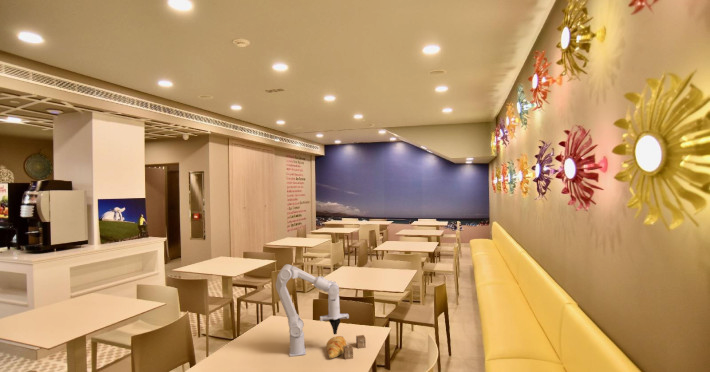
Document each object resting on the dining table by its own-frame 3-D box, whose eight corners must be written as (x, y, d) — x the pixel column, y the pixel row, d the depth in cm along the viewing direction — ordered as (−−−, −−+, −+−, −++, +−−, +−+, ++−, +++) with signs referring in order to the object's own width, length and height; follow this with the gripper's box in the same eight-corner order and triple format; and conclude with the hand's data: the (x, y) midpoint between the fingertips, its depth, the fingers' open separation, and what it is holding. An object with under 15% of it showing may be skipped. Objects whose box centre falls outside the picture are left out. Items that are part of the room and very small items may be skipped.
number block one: (343, 355, 180) (343, 345, 180) (351, 354, 181) (351, 344, 181) (345, 359, 176) (344, 349, 176) (353, 358, 177) (352, 348, 177)
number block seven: (356, 345, 191) (356, 335, 191) (363, 344, 192) (363, 334, 192) (358, 348, 187) (357, 338, 187) (365, 347, 188) (365, 338, 188)
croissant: (336, 368, 175) (344, 353, 174) (318, 357, 177) (325, 343, 176) (346, 347, 196) (352, 334, 195) (330, 338, 198) (336, 325, 197)
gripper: (320, 310, 181) (321, 338, 181) (349, 308, 184) (350, 335, 184) (319, 306, 188) (320, 332, 188) (347, 303, 191) (347, 329, 191)
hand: (335, 333), depth 186 cm, fingers closed
